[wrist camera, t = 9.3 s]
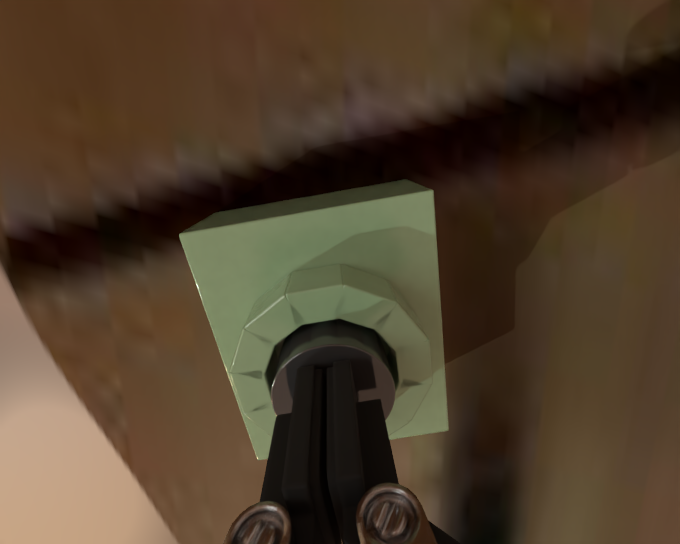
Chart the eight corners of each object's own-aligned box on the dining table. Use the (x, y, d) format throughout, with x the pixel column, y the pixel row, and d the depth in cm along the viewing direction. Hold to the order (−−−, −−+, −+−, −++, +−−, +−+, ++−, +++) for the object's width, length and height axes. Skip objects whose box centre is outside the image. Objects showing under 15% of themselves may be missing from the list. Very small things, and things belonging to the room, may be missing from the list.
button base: (214, 212, 15) (148, 251, 10) (407, 178, 15) (455, 198, 9) (270, 399, 19) (247, 504, 14) (425, 375, 19) (466, 471, 13)
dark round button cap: (267, 322, 12) (256, 356, 10) (378, 304, 12) (388, 335, 10) (292, 409, 13) (286, 453, 11) (390, 393, 13) (401, 435, 11)
